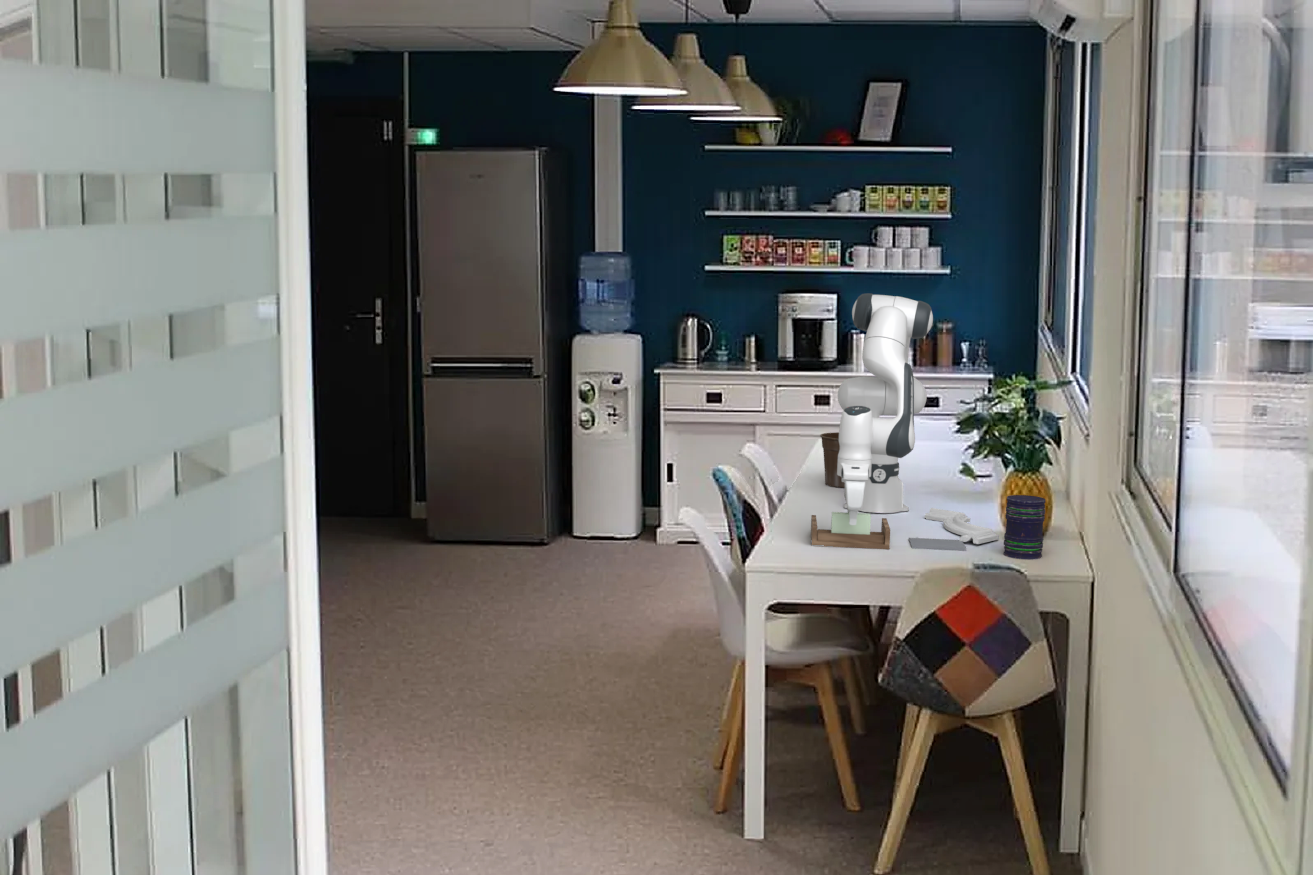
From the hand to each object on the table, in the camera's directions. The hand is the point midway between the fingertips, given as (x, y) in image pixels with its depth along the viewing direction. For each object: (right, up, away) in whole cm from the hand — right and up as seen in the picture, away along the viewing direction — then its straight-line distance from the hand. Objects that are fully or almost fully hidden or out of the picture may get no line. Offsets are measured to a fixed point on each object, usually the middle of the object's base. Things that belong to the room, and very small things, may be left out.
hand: (851, 521), depth 423 cm
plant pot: (+9, +6, +96) cm, 97 cm away
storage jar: (+43, -9, -6) cm, 44 cm away
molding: (+31, -4, +25) cm, 40 cm away
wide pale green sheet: (0, -5, +1) cm, 5 cm away
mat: (+23, -6, +4) cm, 24 cm away
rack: (0, -6, +5) cm, 8 cm away
